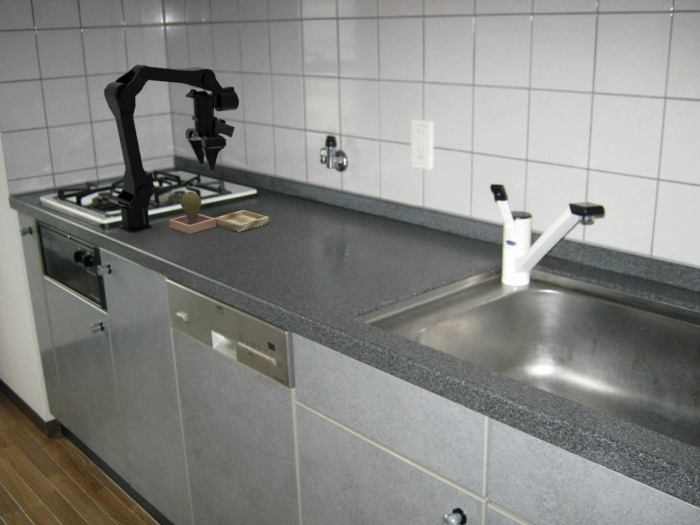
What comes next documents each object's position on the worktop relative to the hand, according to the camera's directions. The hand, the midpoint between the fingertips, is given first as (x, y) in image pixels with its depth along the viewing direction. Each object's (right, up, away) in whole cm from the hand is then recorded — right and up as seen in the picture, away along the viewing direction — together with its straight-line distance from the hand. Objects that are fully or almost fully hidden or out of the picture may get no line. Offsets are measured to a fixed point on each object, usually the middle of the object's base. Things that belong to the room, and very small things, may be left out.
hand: (206, 166), depth 225 cm
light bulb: (-2, -18, -10) cm, 21 cm away
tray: (+11, -17, -8) cm, 22 cm away
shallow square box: (-2, -18, -10) cm, 21 cm away
